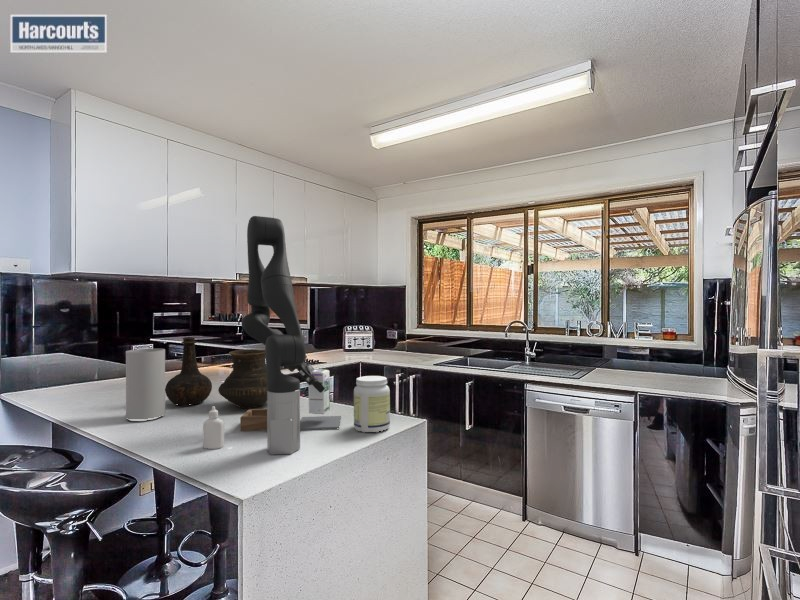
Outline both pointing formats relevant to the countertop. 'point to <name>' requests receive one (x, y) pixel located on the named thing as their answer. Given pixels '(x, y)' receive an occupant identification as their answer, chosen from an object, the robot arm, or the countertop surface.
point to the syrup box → (317, 400)
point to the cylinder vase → (145, 383)
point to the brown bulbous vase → (188, 379)
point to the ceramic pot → (246, 379)
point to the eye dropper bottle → (213, 431)
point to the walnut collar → (254, 420)
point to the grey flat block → (320, 422)
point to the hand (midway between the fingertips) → (323, 388)
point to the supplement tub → (371, 404)
